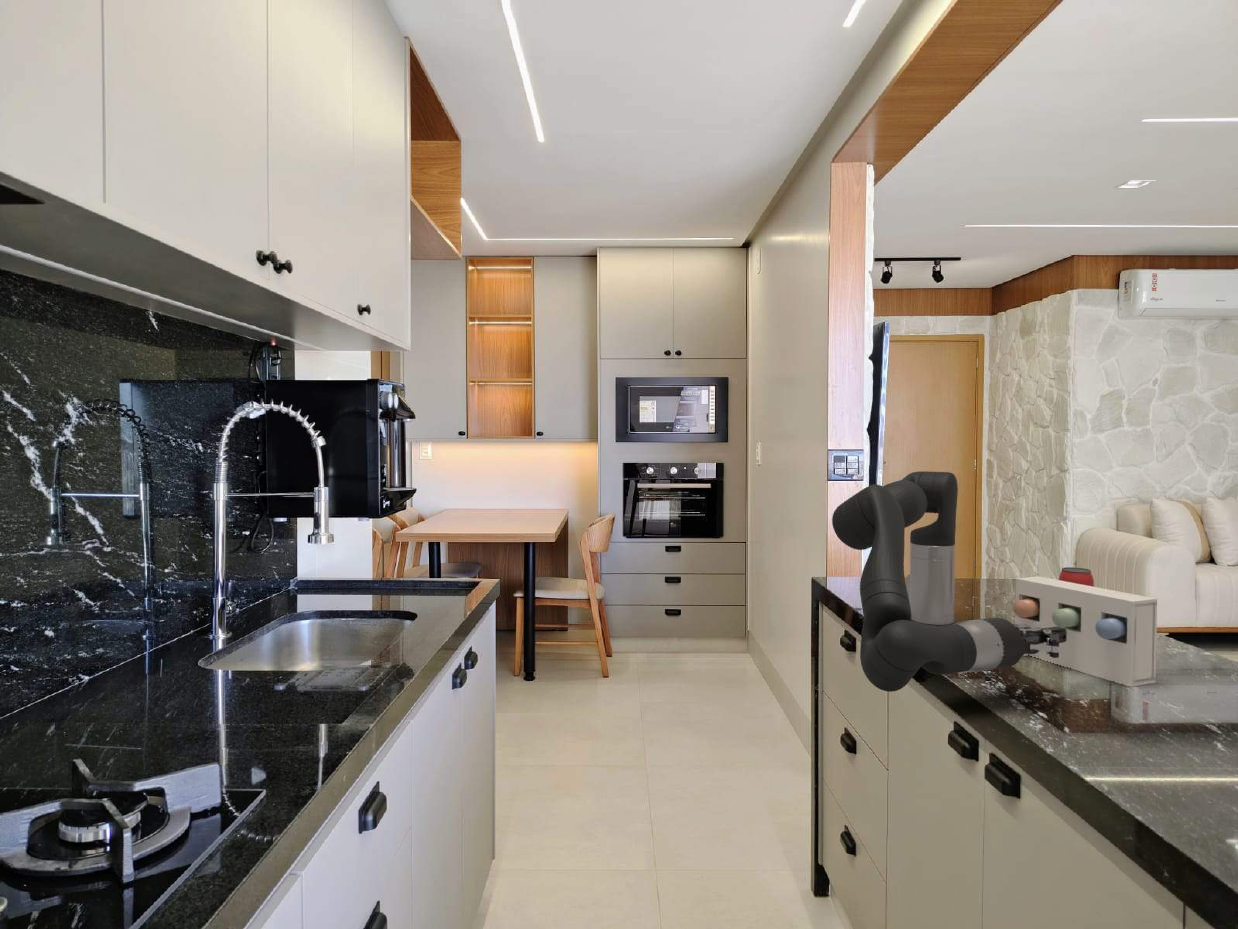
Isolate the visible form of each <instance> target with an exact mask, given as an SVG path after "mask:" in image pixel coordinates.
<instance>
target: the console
mask: <svg viewBox="0 0 1238 929" xmlns="http://www.w3.org/2000/svg"><path fill="white" fill-rule="evenodd" d="M1026 599H1037V600H1038V601H1039V602H1040V615H1039V616H1033V617H1025V618H1020V617H1018V616H1017V615H1016V614H1015V613H1014V624H1018V625H1024V624H1025V625H1028V626H1029V627H1040V628H1049V627H1058V626H1056V625H1055V624H1054V622H1053V620H1052V614H1053V612H1054V611H1055V610H1057V609H1065V608H1077V609H1079V610H1080V611H1081V625H1079V626H1073V627H1065V628H1064V629H1066V631H1067V641H1066V642H1063V643H1059V657H1058V658H1052V657H1050V654H1046V651H1041V652H1038V653H1036V654H1031V655H1030V656H1032V657H1031V658H1034V657H1036V658H1035V659H1037V658H1039V659H1038V660H1040V659H1041V661H1043V662H1047V661H1048V663H1050V662H1051V664H1053V663H1054V665H1057V664H1058V666H1060V665H1061V667H1063V666H1064V668H1067V667H1068V668H1067V669H1070V668H1071V669H1070V670H1073V671H1077V672H1081V673H1082V674H1083V673H1084V674H1087V675H1090V676H1093V677H1096V678H1100V679H1104V680H1107V681H1109V682H1113V681H1114V682H1113V683H1116V684H1120V685H1122V684H1123V686H1127V687H1130V688H1132V687H1133V688H1134V687H1137V686H1138V687H1139V686H1145V685H1150V684H1156V674H1157V672H1156V671H1157V670H1156V668H1157V624H1158V623H1157V622H1158V598H1156V597H1150V596H1144V595H1138V594H1133V593H1129V592H1123V591H1118V590H1114V589H1113V590H1112V589H1109V588H1102V587H1097V586H1094V587H1092V586H1087V585H1082V584H1076V583H1071V582H1066V581H1060V580H1059V579H1054V578H1049V577H1044V576H1039V575H1038V576H1030V577H1028V576H1027V577H1018V578H1015V598H1014V603H1015V602H1016V601H1018V600H1026ZM1117 617H1119V618H1122V619H1124V620H1125V621H1126V622H1127V635H1126V636H1124V637H1119V638H1112V639H1104V638H1102V637H1100V636H1099V635H1098V634H1097V632H1096V628H1095V626H1096V623H1097V622H1098V621H1099V620H1101V619H1109V618H1117ZM1030 656H1029V657H1030Z"/></svg>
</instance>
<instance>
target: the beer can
mask: <svg viewBox="0 0 1238 929" xmlns="http://www.w3.org/2000/svg"><path fill="white" fill-rule="evenodd" d="M1060 571H1061V572H1060V574H1059V575H1058V580H1060V581H1066V582H1071V583H1076V584H1082V585H1087V586H1092V587H1095V586H1094V585H1095V584H1094V583H1095V580H1094V577H1093V575H1092V570H1091V569H1089V568H1084V567H1070V566H1069V567H1062V568H1061V570H1060Z"/></svg>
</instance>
